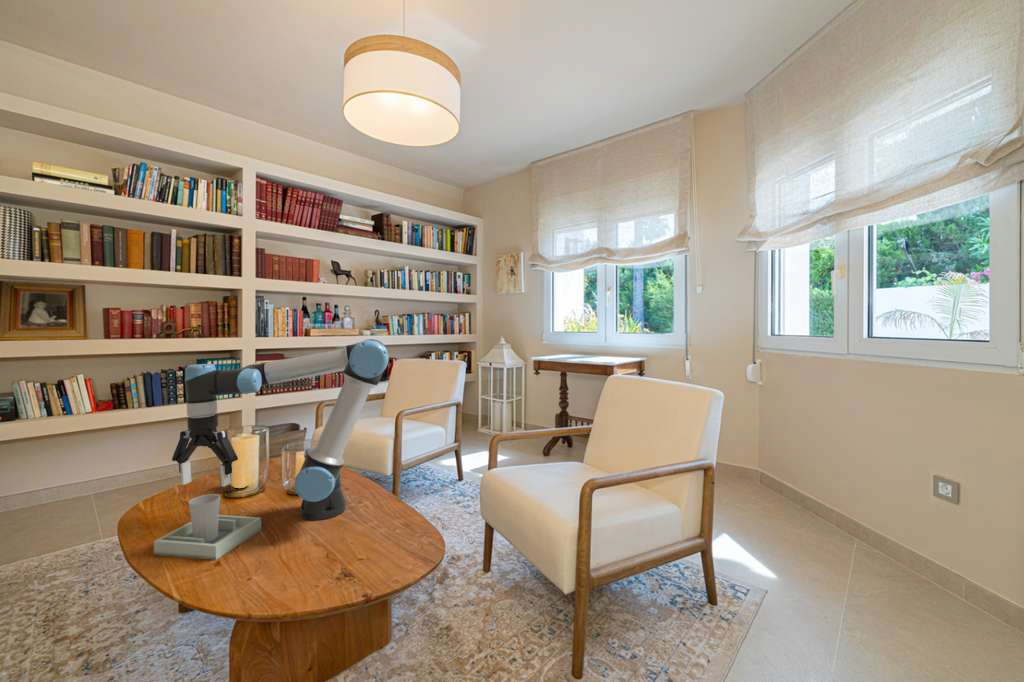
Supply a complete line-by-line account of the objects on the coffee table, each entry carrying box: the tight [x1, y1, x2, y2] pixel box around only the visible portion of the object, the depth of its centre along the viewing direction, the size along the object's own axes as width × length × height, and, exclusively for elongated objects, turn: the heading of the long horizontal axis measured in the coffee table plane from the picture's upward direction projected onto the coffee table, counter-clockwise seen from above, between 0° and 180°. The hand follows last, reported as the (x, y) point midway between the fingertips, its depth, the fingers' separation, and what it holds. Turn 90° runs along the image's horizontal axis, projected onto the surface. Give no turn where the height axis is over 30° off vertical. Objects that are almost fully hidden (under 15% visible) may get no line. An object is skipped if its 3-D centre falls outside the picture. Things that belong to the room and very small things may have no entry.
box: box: [153, 514, 262, 561], centre depth 133 cm, size 20×18×4 cm
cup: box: [188, 493, 221, 542], centre depth 133 cm, size 8×8×12 cm
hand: (206, 484), depth 132 cm, fingers open, 13 cm apart
